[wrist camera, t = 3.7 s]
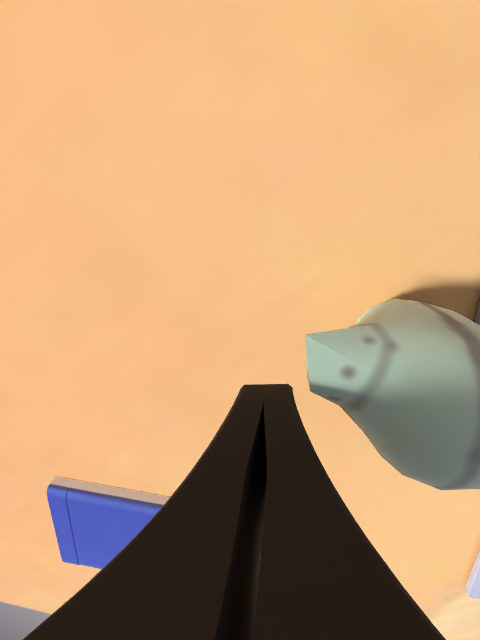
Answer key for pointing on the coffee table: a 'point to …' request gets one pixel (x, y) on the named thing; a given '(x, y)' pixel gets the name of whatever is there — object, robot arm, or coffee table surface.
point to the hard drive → (97, 519)
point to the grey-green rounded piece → (408, 387)
